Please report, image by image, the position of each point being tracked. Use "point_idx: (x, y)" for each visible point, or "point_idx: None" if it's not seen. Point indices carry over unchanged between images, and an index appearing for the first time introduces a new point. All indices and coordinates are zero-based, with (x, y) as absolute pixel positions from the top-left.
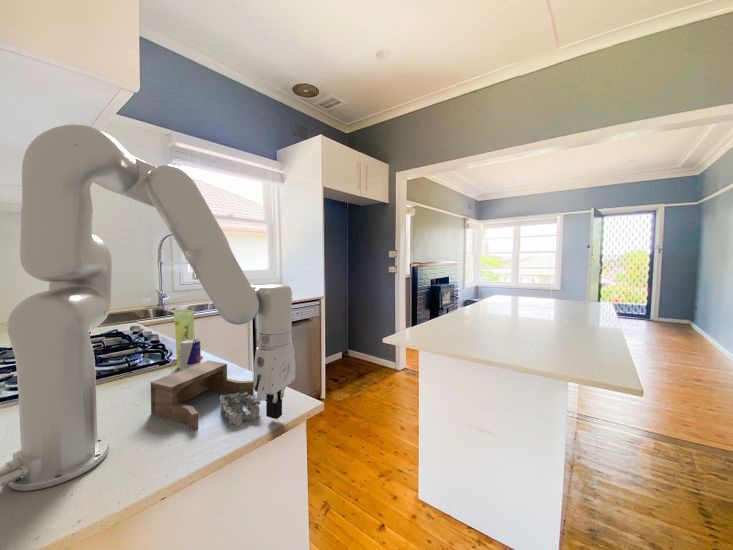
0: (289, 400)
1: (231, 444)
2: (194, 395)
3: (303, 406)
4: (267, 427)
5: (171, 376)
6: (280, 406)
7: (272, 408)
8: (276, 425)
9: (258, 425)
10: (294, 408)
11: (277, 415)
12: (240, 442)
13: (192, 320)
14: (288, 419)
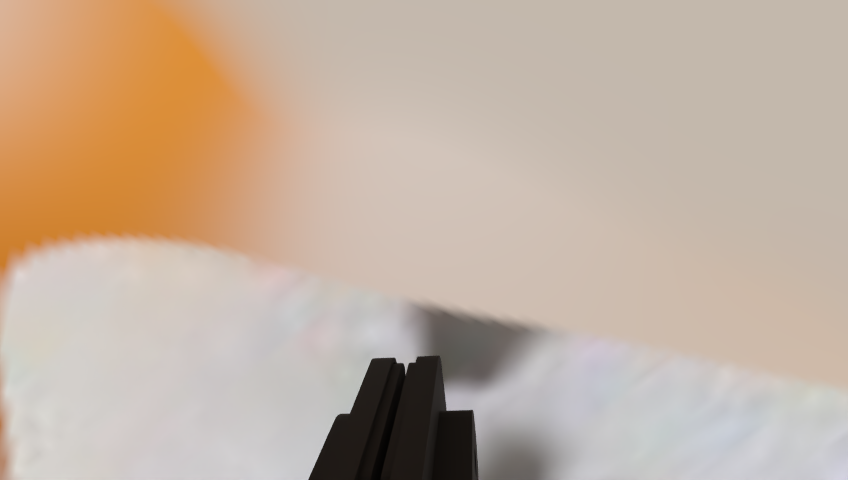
0: (120, 462)
1: (824, 452)
2: None
3: (110, 311)
4: (517, 369)
5: None
6: (373, 424)
7: (474, 470)
8: (459, 325)
9: (525, 444)
10: (180, 357)
11: (437, 374)
12: (778, 414)
13: None
14: (336, 296)
